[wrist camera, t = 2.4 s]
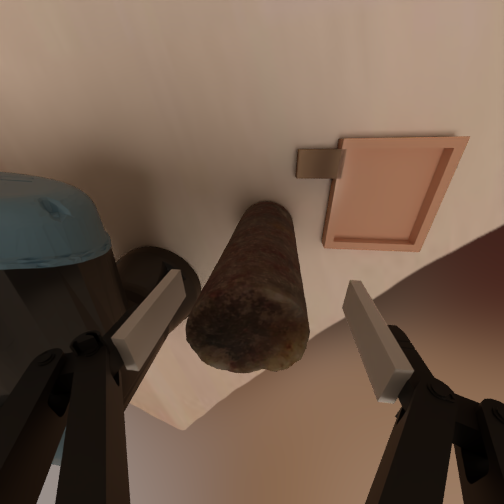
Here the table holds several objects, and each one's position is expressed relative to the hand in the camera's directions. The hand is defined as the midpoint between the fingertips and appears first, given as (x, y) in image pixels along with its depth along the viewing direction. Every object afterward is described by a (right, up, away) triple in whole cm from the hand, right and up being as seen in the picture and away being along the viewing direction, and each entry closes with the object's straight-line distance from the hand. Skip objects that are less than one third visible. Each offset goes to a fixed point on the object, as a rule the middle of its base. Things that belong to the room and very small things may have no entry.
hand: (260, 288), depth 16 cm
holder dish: (+15, +10, +9) cm, 20 cm away
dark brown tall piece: (+1, +7, +13) cm, 15 cm away
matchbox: (+7, +14, +8) cm, 18 cm away
